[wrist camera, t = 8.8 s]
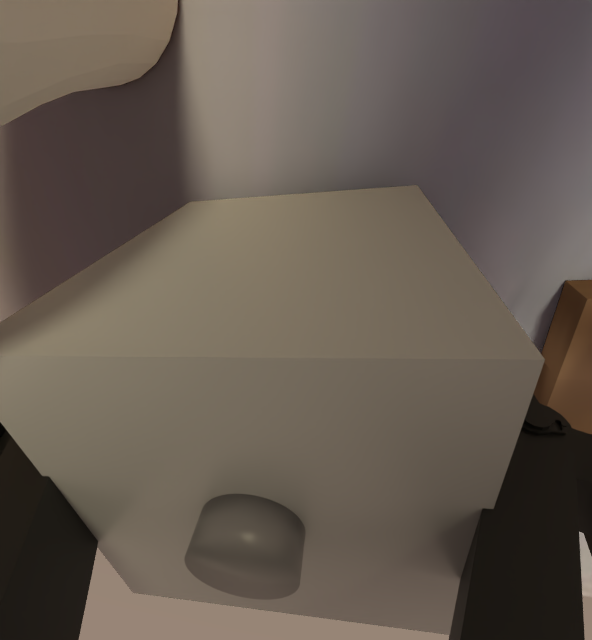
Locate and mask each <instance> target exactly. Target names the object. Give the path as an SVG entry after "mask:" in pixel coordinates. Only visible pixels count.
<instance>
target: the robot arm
mask: <svg viewBox="0 0 592 640" xmlns="http://www.w3.org/2000/svg"><path fill="white" fill-rule="evenodd" d="M579 532H582V533H584V535H585V538H586V541H587V544H588V547H589V550H590V553H591V556H592V434H589V433H585V432H582V431H579V430H576V429H573V428H571V425H570V423H569V422H568V421H567V420H566V419H565V418H564V417H563V416H562V415H561V414H560V413H558V412H556V411H555V410H553V409H552V408H550V407H548V406H545V405H543V404H540V403H539V402H538V400H537V398H536V397H535V395H534V394H533V396H532V399H531V402H530V405H529V408H528V411H527V413H526V416H525V419H524V422H523V425H522V428H521V431H520V434H519V437H518V439H517V442H516V445H515V448H514V451H513V454H512V457H511V460H510V463H509V465H508V468H507V471H506V474H505V477H504V480H503V483H502V486H501V489H500V492H499V494H498V497H497V500H496V503H495V506H494V509H486V508H482V511H481V514H480V518H479V521H478V524H477V527H476V530H475V534H474V537H473V540H472V543H471V546H470V550H469V553H468V556H467V559H466V563H465V566H464V569H463V572H462V575H461V579H460V583H459V588H458V594H457V599H456V604H455V609H454V615H453V620H452V625H451V631H450V636H449V640H584V622H583V602H582V582H581V563H580V544H579ZM97 545H98V540H97V539H96V538H95V536H94V535H93V534H92V532H91V531H90V530H89V528H88V527H87V526H86V524H85V523H84V522H83V521H82V519H81V518H80V517H79V515H78V514H77V513H76V511H75V510H74V509H73V507H72V506H71V505H70V503H69V502H68V501H67V499H66V498H65V497H64V495H63V494H62V493H61V492H60V490H59V489H58V488H57V486H56V485H55V484H54V482H53V481H52V480H51V478H50V477H49V476H42V475H41V474H40V472H39V471H38V470H37V469H36V467H35V466H34V465H33V463H32V462H31V461H30V460H29V458H28V457H27V456H26V454H25V453H24V452H23V451H22V449H21V448H20V447H19V445H18V444H17V443H16V442H15V440H14V439H13V438H12V436H11V435H10V434H9V433H8V431H7V430H6V429H5V427H4V426H3V425H2V424H1V422H0V640H78V639H79V634H80V629H81V624H82V619H83V615H84V610H85V605H86V600H87V595H88V590H89V585H90V580H91V575H92V570H93V565H94V560H95V555H96V550H97Z"/></svg>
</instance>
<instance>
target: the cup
mask: <svg viewBox="0 0 592 640" xmlns="http://www.w3.org/2000/svg"><path fill="white" fill-rule="evenodd" d="M177 7H178V0H0V127H1V126H3V125H5V124H7V123H8V122H10V121H12V120H14V119H16V118H18V117H20V116H21V115H23V114H25V113H27V112H29V111H31V110H32V109H34V108H36V107H38V106H40V105H42V104H44V103H47V102H50V101H52V100H55V99H57V98H60V97H62V96H65V95H67V94H70V93H72V92H78V91H85V90H91V89H98V88H105V87H111V86H118V85H122V84H125V83H127V82H130V81H133V80H135V79H138V78H140V77H141V76H142V75H144V74H145V73H146V72H147V71H148V70H149V69H150V68H152V67H153V66H154V65H155V64H156V63H157V61H158V60H159V58H160V56H161V55H162V53H163V51H164V49H165V48H166V46H167V44H168V43H169V40H170V37H171V33H172V30H173V26H174V23H175V19H176V15H177Z"/></svg>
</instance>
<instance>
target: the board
mask: <svg viewBox="0 0 592 640" xmlns="http://www.w3.org/2000/svg"><path fill="white" fill-rule="evenodd" d="M541 355H542V356H543V357H544V359H545V361H544V364H543V367H542V370H541V373H540V376H539V379H538V382H537V385H536V387H535V390H534V393H533V394H534V395H535V397H536V398H537V400H538V402H539V403H540V404H543V405H545V406H548V407H550V408H552V409H553V410H555V411H556V412H558V413H560V414H561V415H562V416H563V417H564V418H565V419H566V420H567V421H568V422H569V423H570V425H571V428H573V429H576V430H579V431H582V432H585V433H589V434H592V280H572V281H565V284H564V287H563V290H562V293H561V296H560V299H559V302H558V305H557V308H556V311H555V314H554V317H553V320H552V323H551V326H550V329H549V332H548V335H547V338H546V341H545V344H544V347H543V350H542V353H541Z"/></svg>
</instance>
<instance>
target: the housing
mask: <svg viewBox="0 0 592 640" xmlns="http://www.w3.org/2000/svg"><path fill="white" fill-rule="evenodd" d="M544 361H545V359H544V357H543V356H542V355H541V353H540V352H539V351H538V349H537V348H536V346H535V345H534V344H533V342H532V341H531V340H530V338H529V337H528V336H527V334H526V333H525V331H524V330H523V329H522V327H521V326H520V325H519V323H518V322H517V321H516V319H515V318H514V316H513V315H512V314H511V312H510V311H509V310H508V308H507V307H506V306H505V304H504V303H503V301H502V300H501V299H500V297H499V296H498V295H497V293H496V292H495V291H494V289H493V288H492V286H491V285H490V284H489V282H488V281H487V280H486V278H485V277H484V276H483V274H482V273H481V272H480V270H479V269H478V267H477V266H476V265H475V263H474V262H473V261H472V259H471V258H470V257H469V255H468V254H467V252H466V251H465V250H464V248H463V247H462V246H461V244H460V243H459V242H458V240H457V239H456V237H455V236H454V235H453V233H452V232H451V231H450V229H449V228H448V227H447V225H446V224H445V222H444V221H443V220H442V218H441V217H440V216H439V214H438V213H437V212H436V210H435V209H434V207H433V206H432V205H431V203H430V202H429V201H428V199H427V198H426V197H425V195H424V194H423V192H422V191H421V190H420V188H419V187H418V186H417V185H411V186H398V187H384V188H370V189H357V190H343V191H329V192H316V193H302V194H289V195H275V196H261V197H248V198H234V199H221V200H207V201H193V202H189V203H188V204H186V205H184V206H183V207H181V208H180V209H178V210H177V211H175V212H173V213H172V214H170V215H169V216H167V217H166V218H164V219H162V220H161V221H159V222H158V223H156V224H155V225H153V226H151V227H150V228H148V229H147V230H145V231H144V232H142V233H140V234H139V235H137V236H136V237H134V238H133V239H131V240H129V241H128V242H126V243H125V244H123V245H122V246H120V247H118V248H117V249H115V250H114V251H112V252H110V253H109V254H107V255H106V256H104V257H103V258H101V259H99V260H98V261H96V262H95V263H93V264H92V265H90V266H88V267H87V268H85V269H84V270H82V271H81V272H79V273H77V274H76V275H74V276H73V277H71V278H70V279H68V280H66V281H65V282H63V283H62V284H60V285H59V286H57V287H55V288H54V289H52V290H51V291H49V292H48V293H46V294H44V295H43V296H41V297H40V298H38V299H37V300H35V301H33V302H32V303H30V304H29V305H27V306H25V307H24V308H22V309H21V310H19V311H18V312H16V313H14V314H13V315H11V316H10V317H8V318H7V319H5V320H3V321H2V322H0V422H1V424H2V425H3V426H4V427H5V429H6V430H7V431H8V433H9V434H10V435H11V436H12V438H13V439H14V440H15V442H16V443H17V444H18V445H19V447H20V448H21V449H22V451H23V452H24V453H25V454H26V456H27V457H28V458H29V460H30V461H31V462H32V463H33V465H34V466H35V467H36V469H37V470H38V471H39V472H40V474H41V475H42V476H49V477H50V478H51V480H52V481H53V482H54V484H55V485H56V486H57V488H58V489H59V490H60V492H61V493H62V494H63V495H64V497H65V498H66V499H67V501H68V502H69V503H70V505H71V506H72V507H73V509H74V510H75V511H76V513H77V514H78V515H79V517H80V518H81V519H82V521H83V522H84V523H85V524H86V526H87V527H88V528H89V530H90V531H91V532H92V534H93V535H94V536H95V538H96V539H97V540H98V545H97V547H98V548H99V549H100V551H101V552H102V553H103V555H104V556H105V557H106V559H107V560H108V561H109V562H110V563H111V565H112V566H113V568H114V569H115V570H116V571H117V573H118V574H119V575H120V577H121V578H122V579H123V580H124V581H125V583H126V584H127V585H128V587H129V588H130V589H131V591H132V592H133V593H138V594H146V595H154V596H161V597H169V598H176V599H184V600H191V601H199V602H207V603H214V604H221V605H229V606H236V607H244V608H251V609H259V610H266V611H274V612H282V613H289V614H297V615H304V616H312V617H319V618H327V619H334V620H341V621H349V622H357V623H365V624H372V625H379V626H387V627H394V628H402V629H409V630H417V631H424V632H433V633H439V634H447V635H450V631H451V625H452V620H453V615H454V609H455V604H456V599H457V594H458V588H459V583H460V579H461V575H462V572H463V569H464V566H465V563H466V559H467V556H468V553H469V550H470V546H471V543H472V540H473V537H474V534H475V530H476V527H477V524H478V521H479V518H480V514H481V511H482V508H486V509H494V506H495V503H496V500H497V497H498V494H499V492H500V489H501V486H502V483H503V480H504V477H505V474H506V471H507V468H508V465H509V463H510V460H511V457H512V454H513V451H514V448H515V445H516V442H517V439H518V437H519V434H520V431H521V428H522V425H523V422H524V419H525V416H526V413H527V411H528V408H529V405H530V402H531V399H532V396H533V393H534V390H535V387H536V385H537V382H538V379H539V376H540V373H541V370H542V367H543V364H544Z"/></svg>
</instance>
